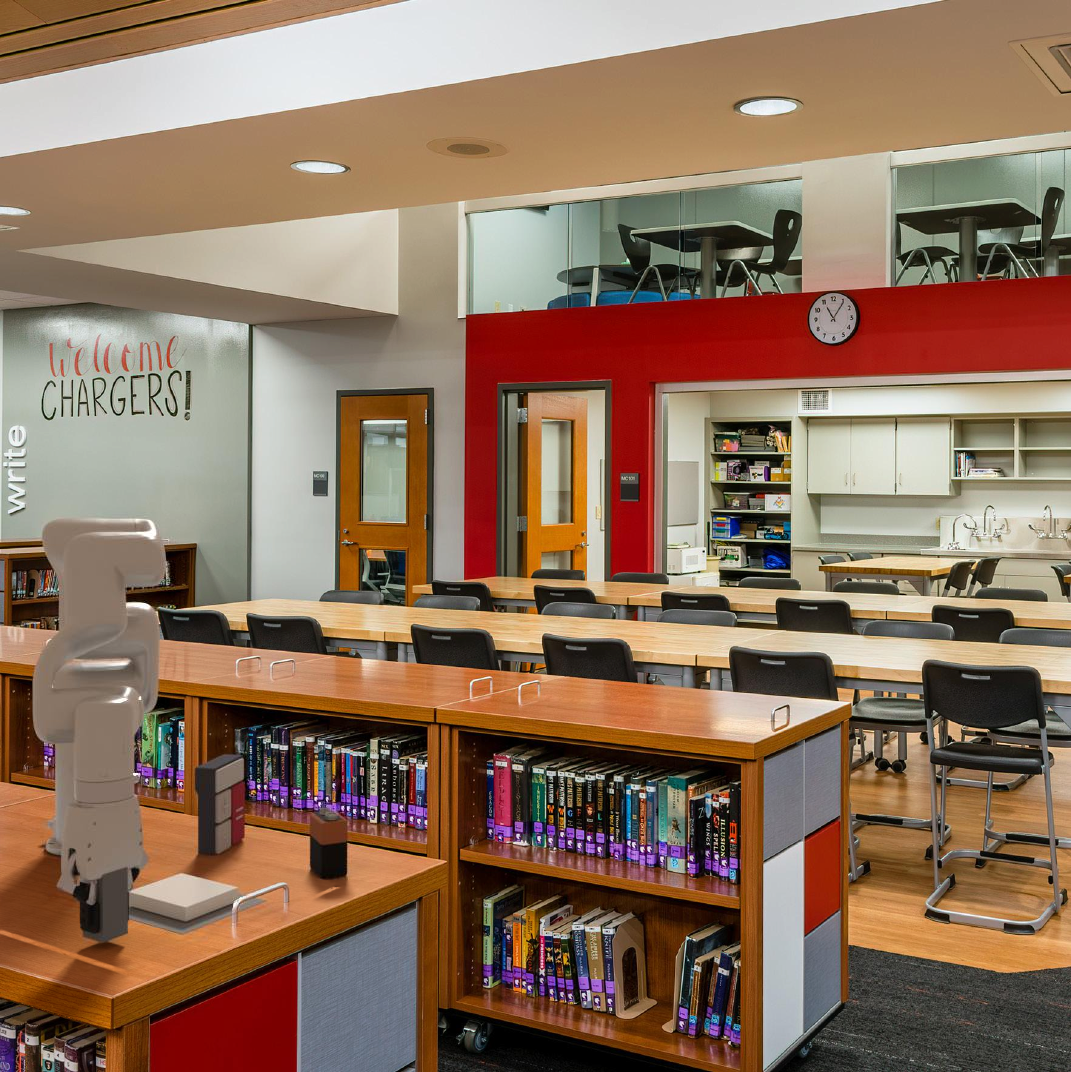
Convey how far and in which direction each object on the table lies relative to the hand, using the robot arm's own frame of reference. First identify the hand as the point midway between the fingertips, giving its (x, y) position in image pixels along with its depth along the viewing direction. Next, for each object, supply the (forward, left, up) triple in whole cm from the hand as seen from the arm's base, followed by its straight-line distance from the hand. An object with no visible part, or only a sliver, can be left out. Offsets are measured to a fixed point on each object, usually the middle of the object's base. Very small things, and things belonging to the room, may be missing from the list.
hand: (104, 924), depth 157 cm
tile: (-9, +16, -1) cm, 18 cm away
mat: (-4, +16, -3) cm, 17 cm away
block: (0, 0, -1) cm, 1 cm away
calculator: (-20, +40, -3) cm, 45 cm away
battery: (+4, +40, -3) cm, 40 cm away
